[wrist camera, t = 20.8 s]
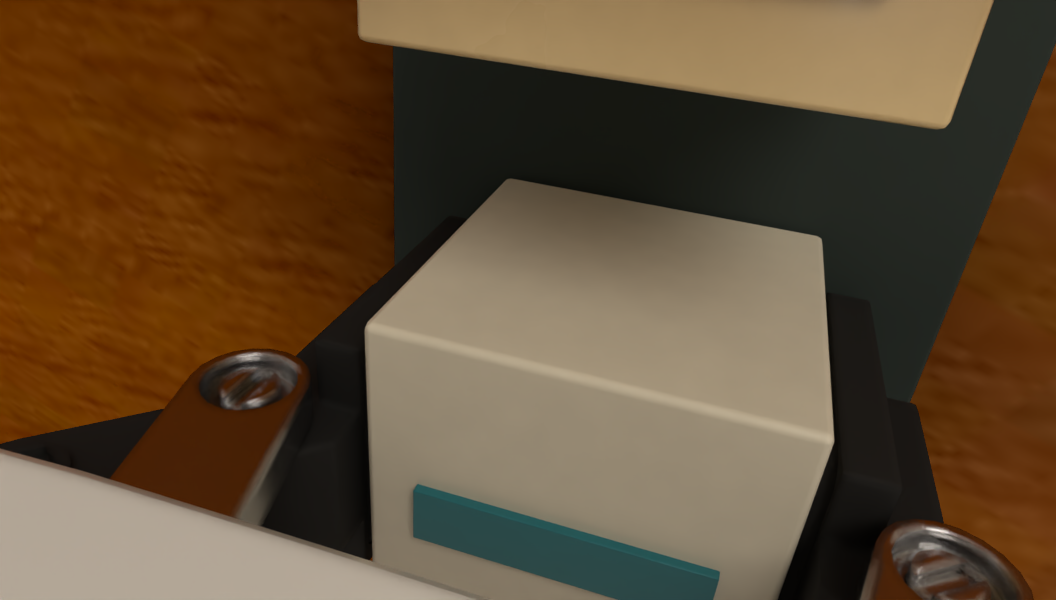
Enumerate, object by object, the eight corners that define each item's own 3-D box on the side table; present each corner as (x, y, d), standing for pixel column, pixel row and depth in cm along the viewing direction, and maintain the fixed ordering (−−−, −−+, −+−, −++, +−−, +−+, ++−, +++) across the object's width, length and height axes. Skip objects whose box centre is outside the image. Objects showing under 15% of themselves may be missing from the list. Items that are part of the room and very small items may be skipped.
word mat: (407, -661, 8) (385, -693, 7) (1348, -728, 6) (1390, -774, 6) (406, 426, 15) (394, 442, 14) (842, 545, 13) (844, 567, 12)
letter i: (507, 174, 11) (354, 329, 7) (823, 234, 10) (838, 448, 6) (490, 415, 13) (367, 629, 9) (749, 483, 12) (727, 752, 8)
